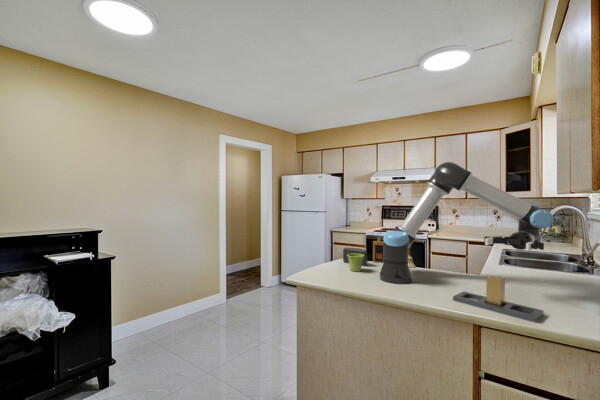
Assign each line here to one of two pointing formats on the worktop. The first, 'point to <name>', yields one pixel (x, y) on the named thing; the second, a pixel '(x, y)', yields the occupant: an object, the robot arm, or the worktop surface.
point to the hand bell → (410, 259)
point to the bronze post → (495, 291)
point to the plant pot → (355, 261)
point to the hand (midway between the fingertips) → (505, 244)
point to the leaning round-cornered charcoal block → (356, 251)
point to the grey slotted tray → (507, 309)
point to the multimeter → (378, 250)
